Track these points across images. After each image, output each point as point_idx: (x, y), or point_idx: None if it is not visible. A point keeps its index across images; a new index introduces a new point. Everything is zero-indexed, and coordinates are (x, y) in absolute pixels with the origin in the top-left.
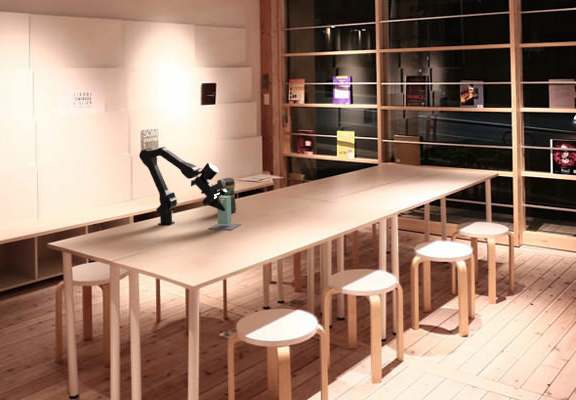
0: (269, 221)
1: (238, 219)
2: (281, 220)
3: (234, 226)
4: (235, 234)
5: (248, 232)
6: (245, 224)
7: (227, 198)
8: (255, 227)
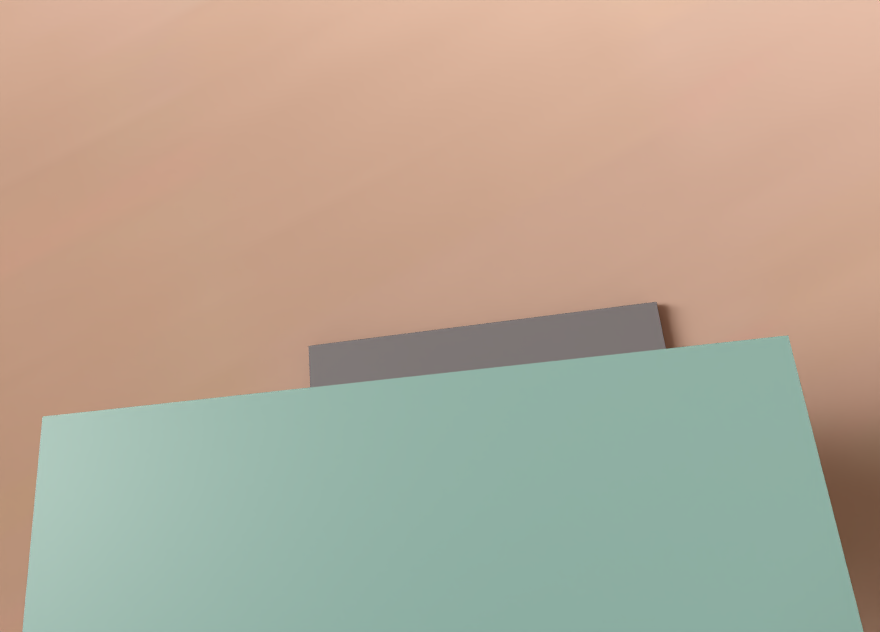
0: (70, 125)
1: (9, 555)
2: (9, 39)
3: (477, 356)
4: (851, 135)
5: (672, 52)
6: (276, 306)
7: (605, 365)
8: (397, 112)
